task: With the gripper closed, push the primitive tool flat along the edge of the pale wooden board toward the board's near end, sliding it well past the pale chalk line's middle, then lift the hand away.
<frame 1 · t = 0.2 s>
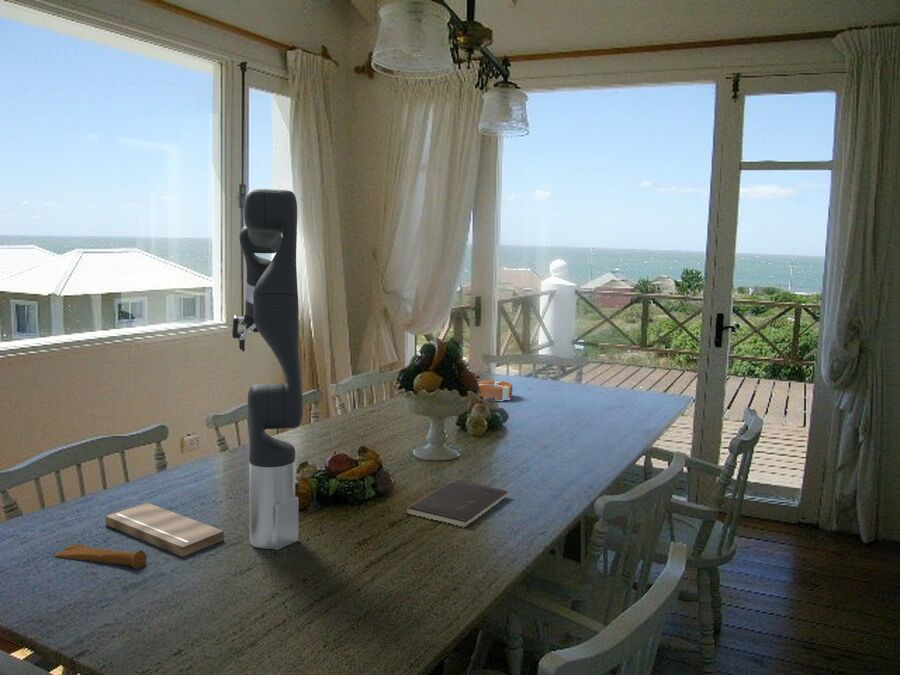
hand: (259, 349, 200), 31 cm above the table, tool tilted 20°, fingers open, 8 cm apart
hardcover book: (458, 508, 174), on the table
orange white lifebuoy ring: (494, 399, 292), on the table
pale wooden board: (163, 532, 153), on the table
primitive tool: (99, 562, 139), on the table
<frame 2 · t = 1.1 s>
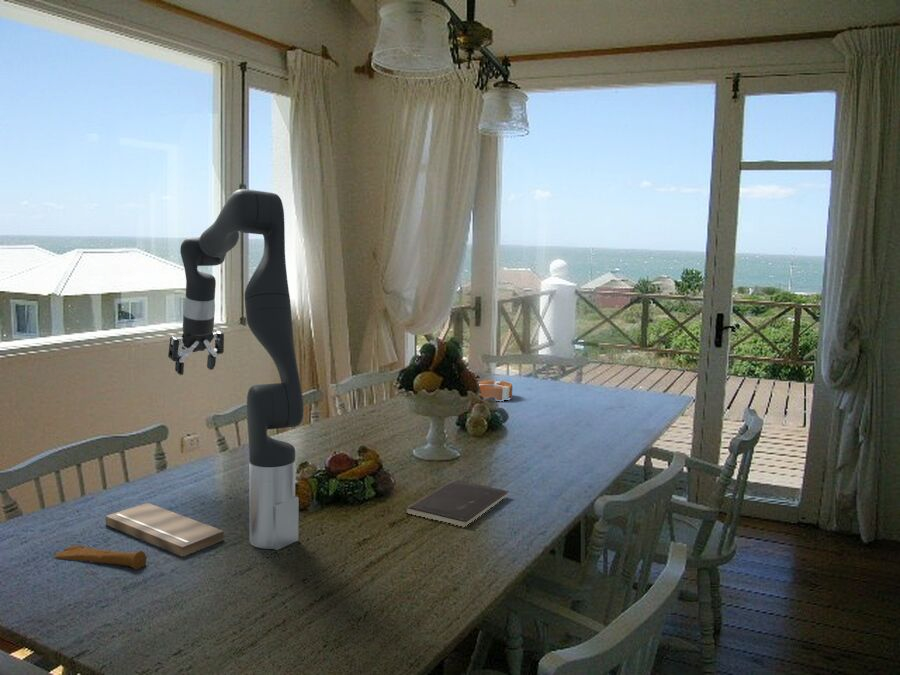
hand: (195, 371, 189), 27 cm above the table, tool pointing down, fingers open, 8 cm apart
nothing on the table moved.
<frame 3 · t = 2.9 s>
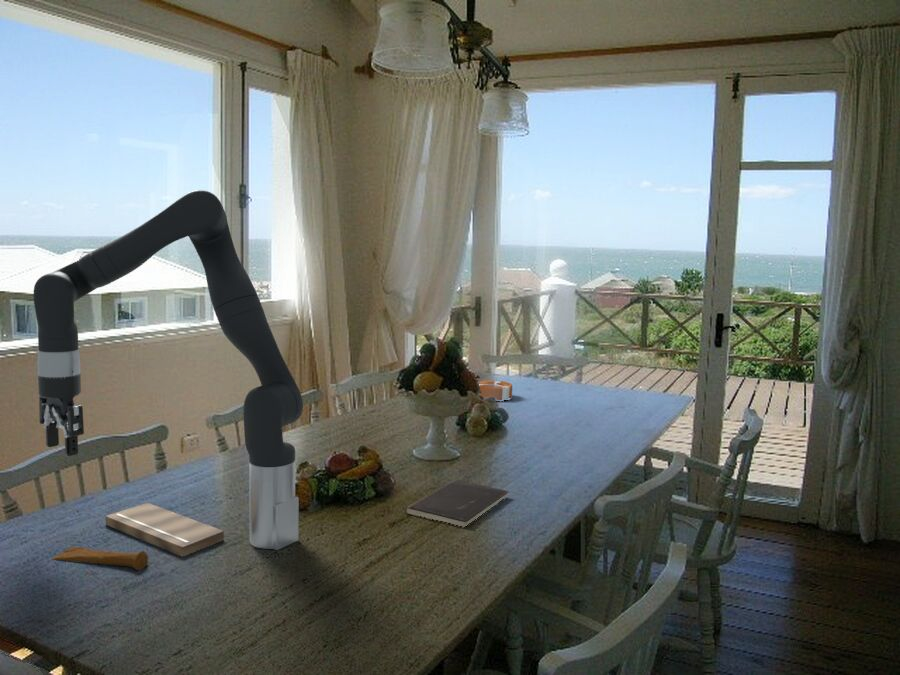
hand: (61, 450, 146), 18 cm above the table, tool pointing down, fingers open, 8 cm apart
nothing on the table moved.
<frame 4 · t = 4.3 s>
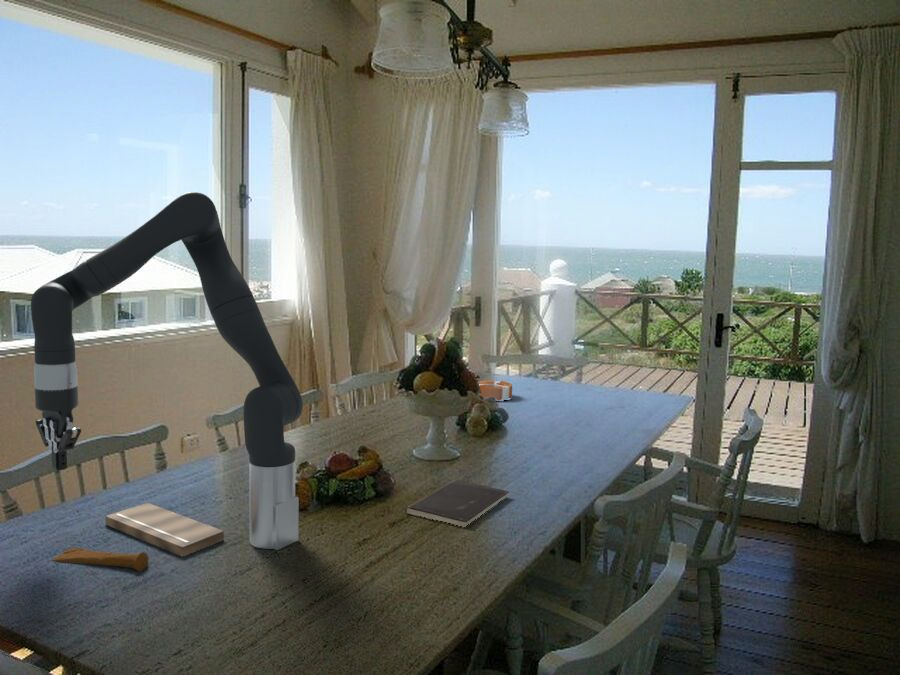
hand: (59, 468, 145), 15 cm above the table, tool pointing down, fingers closed
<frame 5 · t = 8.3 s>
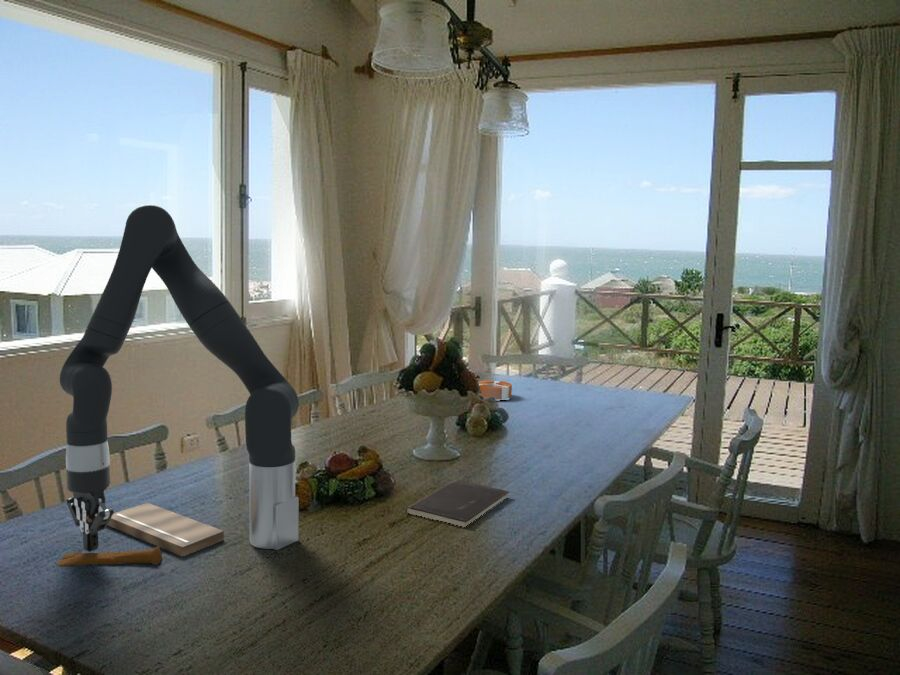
hand: (90, 549, 141), 1 cm above the table, tool pointing down, fingers closed
primitive tool: (107, 565, 139), on the table, touching gripper
everything else where it was.
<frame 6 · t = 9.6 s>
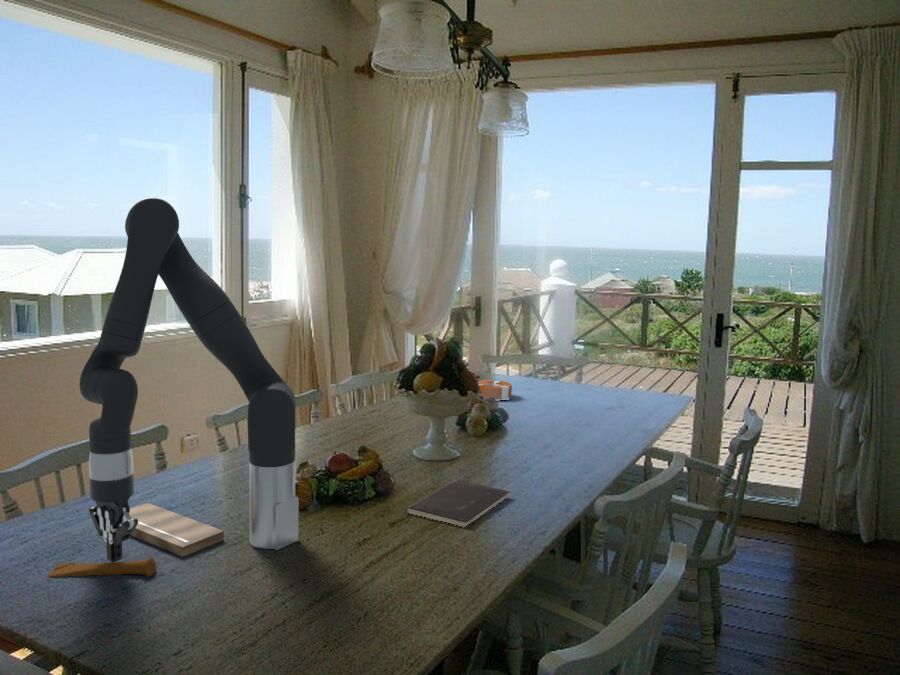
hand: (114, 559, 137), 1 cm above the table, tool pointing down, fingers closed
primitive tool: (100, 576, 134), on the table
everything else where it was.
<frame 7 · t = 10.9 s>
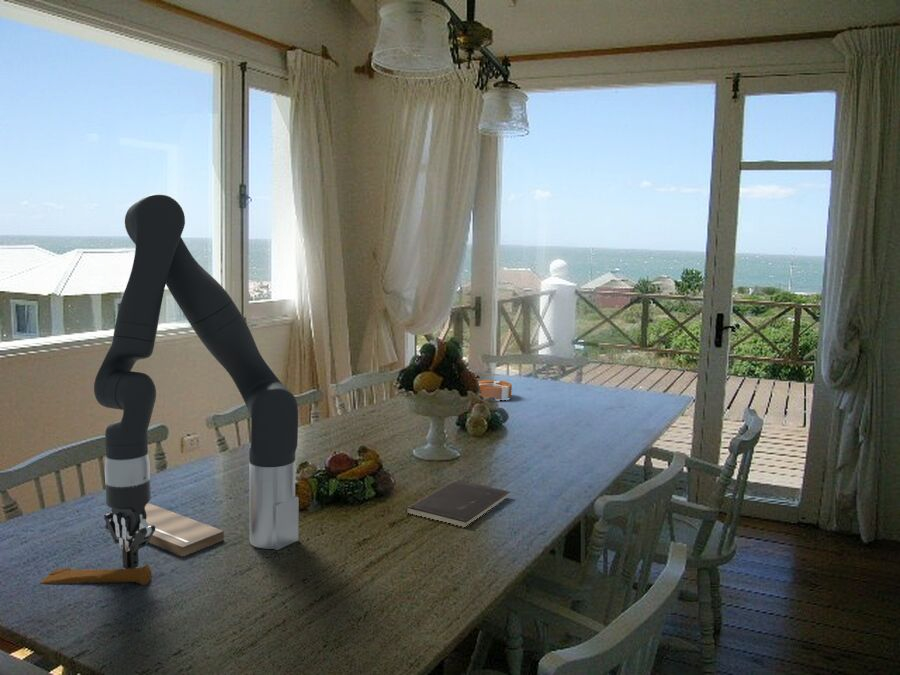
hand: (130, 567, 134), 1 cm above the table, tool pointing down, fingers closed
primitive tool: (95, 583, 131), on the table
everything else where it was.
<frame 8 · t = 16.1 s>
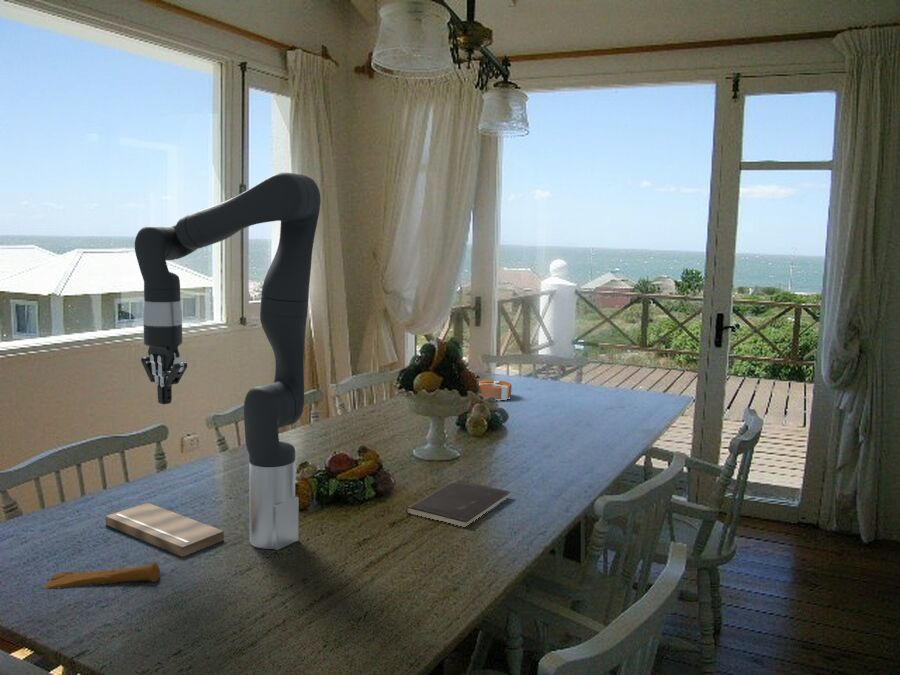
hand: (164, 403, 153), 27 cm above the table, tool pointing down, fingers closed
primitive tool: (101, 584, 131), on the table
at the end: primitive tool inside the target area (5.3 cm from its centre), on the table; primitive tool moved 10.2 cm from its start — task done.
